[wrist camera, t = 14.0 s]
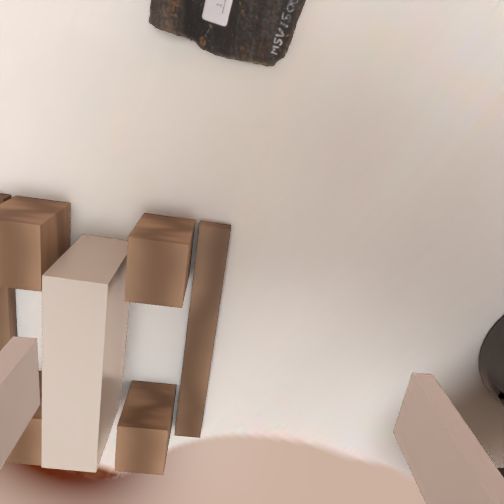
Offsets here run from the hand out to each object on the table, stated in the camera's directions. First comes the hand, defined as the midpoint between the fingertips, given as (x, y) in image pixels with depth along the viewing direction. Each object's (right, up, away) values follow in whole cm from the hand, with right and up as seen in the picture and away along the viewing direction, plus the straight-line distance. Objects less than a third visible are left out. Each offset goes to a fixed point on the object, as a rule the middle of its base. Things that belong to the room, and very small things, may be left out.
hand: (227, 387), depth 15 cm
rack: (-15, -3, +31) cm, 34 cm away
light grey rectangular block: (-15, -3, +31) cm, 35 cm away
